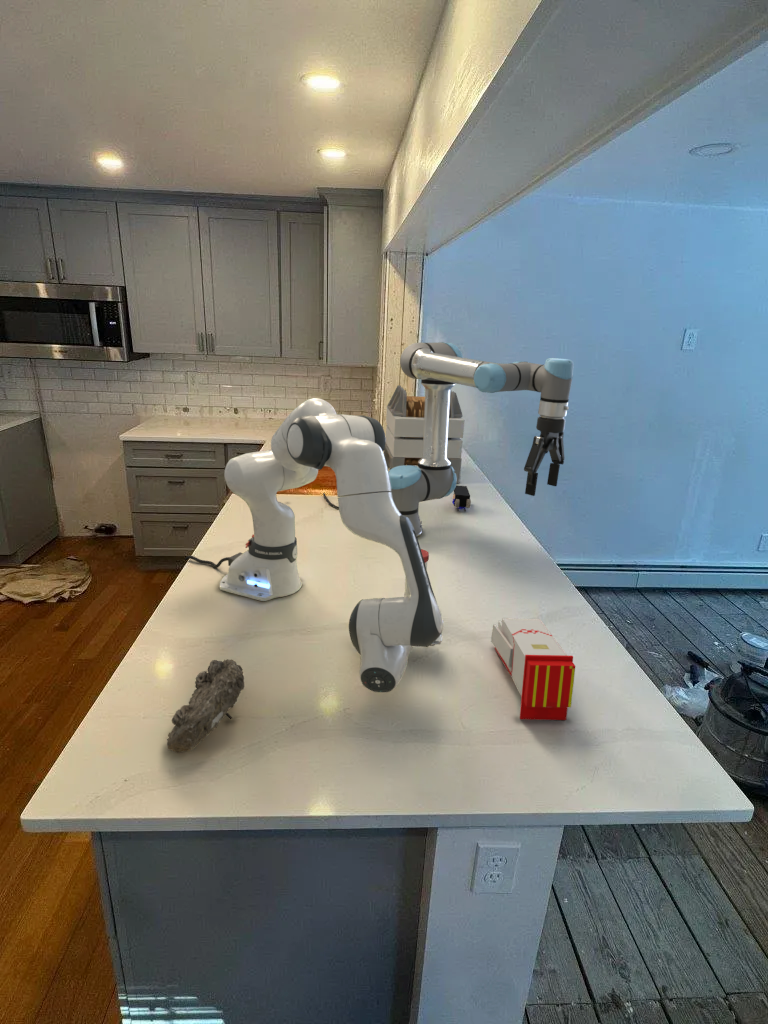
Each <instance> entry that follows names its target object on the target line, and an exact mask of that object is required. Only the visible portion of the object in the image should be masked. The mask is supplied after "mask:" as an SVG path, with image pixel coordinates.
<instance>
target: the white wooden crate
mask: <svg viewBox="0 0 768 1024" xmlns="http://www.w3.org/2000/svg"><path fill="white" fill-rule="evenodd" d="M407 394H408V393H407V390H406V389H404V388H403V387H402V385H399V384H398V385H397V386H396V388H395V390H394V392H393V394H392V395H391V398H390V400H389V402H388V404H387V405H386V413H385V414H386V415H385V423H386V428H385V438H386V442H385V448H384V451H383V454H384V457H385V460H386V464H387V468H389V471H390V470H391V469H392V468H394V467H397V466H402V465H405V466H407V465H413V466H417V467H418V461H419V460H420V459H421V458H422V457H423V435H424V410H425V396H415V395H414V396H413V395H412V396H411V395H407ZM464 429H465V419H464V418H463V411H462V408H461V405H460V402H459V398H458V395H457V392H455V391H453V390H452V389H451V390H450V408H449V426H448V444H447V459H448V460H449V461H450V462H451V467H453V469H454V470H455V472H454V473H456V477H457V482H456V484H459V483H461V472H462V461H463V460H462V453H463V442H464V441H463V440H462V439H463V438H464V431H465V430H464Z"/></svg>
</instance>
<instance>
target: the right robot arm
mask: <svg viewBox="0 0 768 1024" xmlns="http://www.w3.org/2000/svg"><path fill="white" fill-rule="evenodd" d="M399 364H400V369H401V372H403V374H405V376H407V377H408V378H411V379H413V380H421V381H420V384H421V385H422V386H423V388H424V397H425V410H424V435H423V457H422V458H421V459H420V460H419V461H418V466H413V465H402V466H397V467H394V468H392V469H391V470H390V469H389V470H388V472H389V477H390V483H391V492H392V498H393V501H394V504H395V506H396V508H397V509H398V511H399V512H400V513H401V515H404V516H406V517H408V518H409V520H410V521H411V523H412V525H413V527H414V530H415V533H416V536H417V539H419V538H420V537H421V536H422V535H423V525H422V524H423V520H421V518H420V515H419V507H420V506H419V505H420V503H422V502H426V501H427V502H428V501H432V500H440V499H443V498H446V497H448V496H450V495H451V494H452V493H454V489H455V487H456V485H457V483H456V482H457V477H456V473H454V472H455V470H454V469H453V467H451V462H450V461H449V460H448V459H447V444H448V426H449V408H450V390H451V391H452V389H453V387H455V386H456V384H457V385H462V386H466V387H471V388H474V389H477V390H478V391H479V392H480V393H487V394H494V393H502V392H518V391H530V392H536V393H540V397H539V398H540V399H539V405H538V411H537V413H538V416H537V419H536V426H535V427H536V430H537V431H539V432H540V434H539V435H538V436H537V435H534V436H533V439H532V445H531V448H530V450H529V453H528V456H527V458H526V461H525V464H524V467H523V471H524V472H527V476H526V483H525V491H524V494H525V495H528V496H531V497H535V496H536V491H537V485H538V484H537V483H538V478H539V472H538V471H539V469H540V466H541V464H542V462H543V460H544V457H545V456H546V455H547V454H549V456H550V460H551V462H550V463H549V469H548V476H547V482H546V485H548V486H551V487H557V486H558V479H559V475H560V474H559V473H560V466H561V465H564V463H565V459H566V458H565V446H564V444H565V443H564V434H565V427H566V417H567V413H568V410H569V408H570V407H569V400H570V399H569V398H570V393H571V388H572V383H573V382H572V381H573V379H574V375H573V374H574V366H575V365H574V361H573V360H571V359H568V358H560V357H559V358H557V357H550V358H547V359H546V360H545V363H544V364H540V363H533V362H528V361H514V362H510V363H509V362H508V363H502V362H501V363H497V362H492V361H486V360H480V359H479V360H478V359H473V358H466V357H464V356H463V353H462V351H461V350H460V348H459V347H458V346H457V345H456V344H454V343H451V342H445V341H441V342H440V341H439V342H438V341H437V342H414V343H411V344H409V345H407V347H405V348H404V350H403V351H402V353H401V355H400V358H399ZM322 495H323V497H324V499H325V501H326V502H327V503H328V504H329V505H330V506H331V507H332V508H335V509H338V510H339V505H335V504H334V503H332V502H331V501H330V500H329V499H328V497H327V495H326V493H325V492H322Z"/></svg>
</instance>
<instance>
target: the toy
mask: <svg viewBox="0 0 768 1024" xmlns="http://www.w3.org/2000/svg"><path fill="white" fill-rule="evenodd" d="M490 638H491V639H490V642H491V644H492V646H493V647H494V650H495V652H496V654H497V655H498V657H499V659H500V660H501V662H502V664H503V666H504V667H505V669H506V671H507V672H508V674H509V676H510V677H511V679H512V681H513V683H514V685H515V688H516V690H517V691H518V693H519V695H520V697H521V698H520V710H519V719H520V720H534V721H535V720H539V721H567V716H568V708H572V701H573V692H574V684H575V674H576V673H575V672H576V665H575V663H574V656H573V655H568V654H567V653H566V652H565V650H564V649H563V648H562V646H561V645H560V644H559V643H558V641H557V640H556V639H555V637H554V636H553V634H552V633H551V632H550V631H549V629H548V628H547V626H546V624H545V623H543V621H542V620H541V619H540V618H505V617H503V618H501V620H498V622H497V624H495V623H493V624H492V632H491V637H490Z"/></svg>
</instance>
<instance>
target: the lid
mask: <svg viewBox="0 0 768 1024" xmlns="http://www.w3.org/2000/svg"><path fill="white" fill-rule="evenodd" d="M420 549H421V552H422V555H423V559H424V562H427V563H428V562H429V558H430V553H429V551H427V550H425V549H422V548H420Z"/></svg>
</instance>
